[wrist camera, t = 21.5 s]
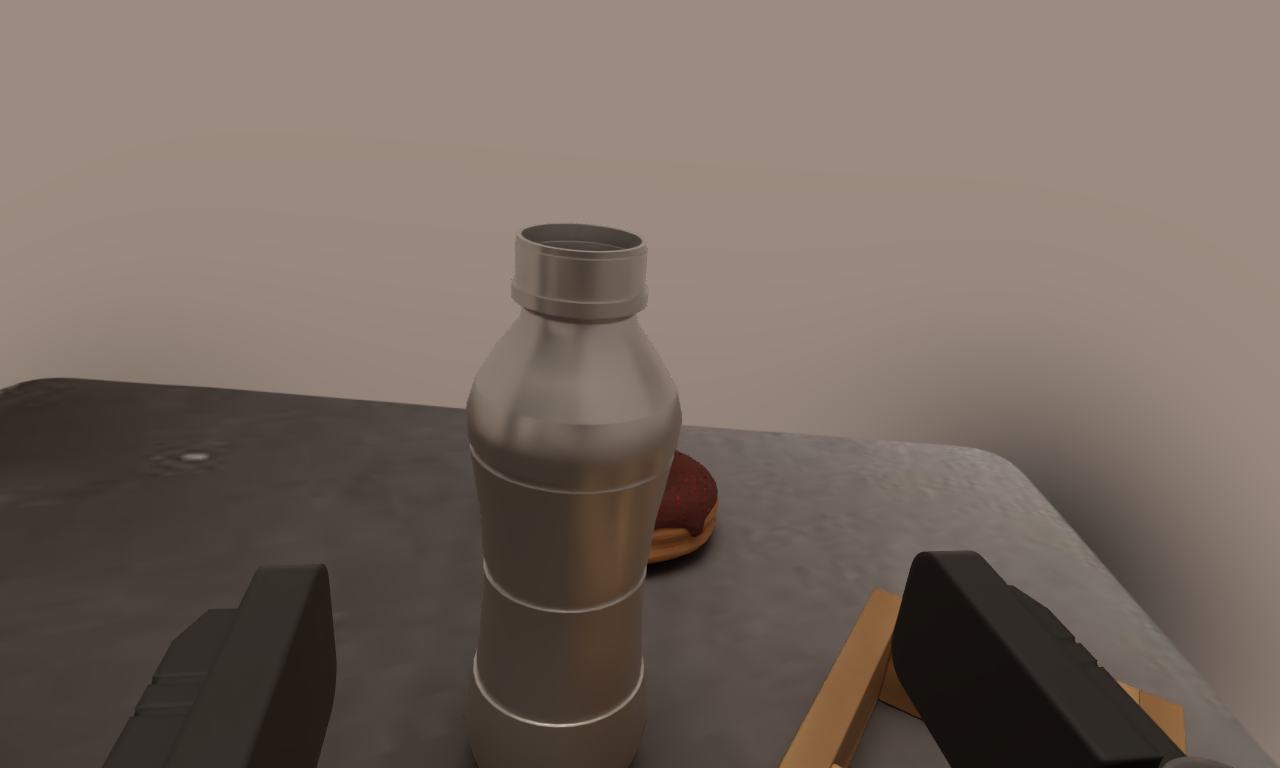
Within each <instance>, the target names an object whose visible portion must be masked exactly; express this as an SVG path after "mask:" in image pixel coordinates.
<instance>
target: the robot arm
mask: <svg viewBox="0 0 1280 768" xmlns="http://www.w3.org/2000/svg"><path fill="white" fill-rule="evenodd" d="M891 652H892V660H893V665H894V669H895V672H896V675H897V677H898V679H899V681H900V683H901V685H902V687H903V688H904V690H905V692H906V693H907V695H908V696H909V698H910V700H911V701H912V703H913V705H914V706H915V708H916V710H917V711H918V713H919V715H920V716H921V718H922V720H923V721H924V723H925V725H926V726H927V728H928V730H929V731H930V733H931V735H932V736H933V738H934V739H935V741H936V743H937V744H938V746H939V748H940V749H941V751H942V753H943V754H944V756H945V758H946V759H947V761H948V763H949V764H950V766H951V768H1233V767H1231V766H1228V765H1226V764H1223V763H1220V762H1217V761H1213V760H1209V759H1205V758H1198V757H1187V756H1186V755H1185V753H1184V752H1183V751H1182V750H1181V749H1180V748H1179V747H1178V746H1177V745H1176V744H1175V743H1174V742H1173V741H1172V740H1171V739H1170V738H1169V737H1168V735H1167V734H1166V733H1165V732H1164V731H1163V730H1162V729H1161V728H1160V727H1159V726H1158V725H1157V724H1156V723H1155V722H1154V721H1153V720H1152V718H1151V717H1150V716H1149V715H1148V714H1147V713H1146V712H1145V711H1144V710H1143V709H1142V708H1141V707H1140V706H1139V705H1138V704H1137V703H1136V701H1135V700H1134V699H1133V698H1132V697H1131V696H1130V695H1129V694H1128V693H1127V692H1126V691H1125V690H1124V689H1123V688H1122V687H1121V686H1120V685H1119V683H1118V682H1117V681H1116V680H1115V679H1114V678H1113V677H1112V676H1111V675H1110V674H1109V673H1108V672H1107V671H1106V670H1105V669H1104V668H1103V667H1098V665H1097V660H1096V659H1095V658H1094V657H1093V656H1092V655H1091V654H1090V653H1089V652H1088V651H1087V649H1086V648H1085V647H1084V646H1083V645H1082V644H1081V643H1076V642H1075V637H1074V636H1073V635H1072V634H1071V633H1070V631H1069V630H1068V629H1067V628H1066V627H1065V626H1064V625H1063V624H1062V623H1061V622H1060V621H1059V620H1058V619H1057V618H1056V617H1055V616H1054V614H1053V613H1052V612H1051V611H1050V610H1049V609H1048V608H1046V607H1045V606H1043V605H1042V604H1040V603H1038V602H1037V601H1035V600H1034V599H1032V598H1031V597H1029V596H1028V595H1026V594H1025V593H1023V592H1022V591H1020V590H1019V589H1017V588H1016V587H1014V586H1013V585H1007V584H1006V582H1005V581H1004V580H1003V579H1002V578H1001V577H1000V576H999V575H998V574H997V573H996V571H995V570H994V569H993V568H992V567H991V566H990V565H989V564H988V563H987V562H986V560H985V559H984V558H983V557H982V556H981V555H980V554H978V553H976V552H974V551H930V552H921V553H919V554H917V555H916V557H915V558H914V560H913V562H912V565H911V568H910V572H909V575H908V579H907V583H906V586H905V590H904V594H903V597H902V601H901V605H900V609H899V612H898V616H897V620H896V623H895V627H894V631H893V635H892V642H891ZM335 686H336V650H335V639H334V628H333V618H332V607H331V596H330V586H329V576H328V571H327V568H326V566H325V565H324V564H311V565H269V566H260V567H259V568H258V569H257V570H256V572H255V574H254V576H253V578H252V580H251V582H250V584H249V586H248V589H247V591H246V593H245V595H244V597H243V599H242V601H241V603H240V605H239V607H238V609H212V610H208V611H207V612H206V613H204V614H203V615H202V616H201V617H200V618H199V619H198V620H196V621H195V622H194V623H193V624H192V625H191V626H189V627H188V628H187V629H186V630H185V631H184V632H183V633H181V634H180V635H179V636H178V637H177V638H176V639H175V640H173V642H172V643H171V645H170V647H169V649H168V650H167V652H166V654H165V656H164V658H163V659H162V661H161V663H160V665H159V667H158V668H157V670H156V672H155V674H154V675H153V677H152V684H151V685H148V686H147V688H146V690H145V692H144V693H143V695H142V697H141V699H140V700H139V702H138V704H137V706H136V708H135V714H134V717H130V718H129V720H128V722H127V724H126V725H125V727H124V729H123V731H122V733H121V734H120V736H119V738H118V740H117V741H116V743H115V745H114V747H113V749H112V750H111V752H110V754H109V756H108V758H107V759H106V761H105V763H104V765H103V766H102V768H317V764H318V760H319V756H320V753H321V749H322V745H323V741H324V737H325V734H326V730H327V726H328V722H329V719H330V715H331V711H332V706H333V701H334V695H335Z"/></svg>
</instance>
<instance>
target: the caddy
mask: <svg viewBox="0 0 1280 768" xmlns="http://www.w3.org/2000/svg"><path fill="white" fill-rule="evenodd" d="M901 601H902V597H899V596H897V595H894V594H891V593H889V592H886V591H884V590H881V589H879V588H875V589H874V591H873V593H872V595H871V596H870V598H869V600H868V602H867V604H866V606H865V608H864V609H863V611H862V613H861V615H860V617H859V619H858V621H857V622H856V624H855V626H854V628H853V630H852V632H851V634H850V635H849V637H848V639H847V641H846V643H845V645H844V647H843V648H842V650H841V652H840V654H839V656H838V658H837V660H836V661H835V663H834V665H833V667H832V669H831V671H830V673H829V674H828V676H827V678H826V680H825V682H824V684H823V686H822V687H821V689H820V691H819V693H818V695H817V697H816V699H815V700H814V702H813V704H812V706H811V708H810V710H809V712H808V713H807V715H806V717H805V719H804V721H803V723H802V725H801V726H800V728H799V730H798V732H797V734H796V736H795V738H794V740H793V741H792V743H791V745H790V747H789V749H788V751H787V753H786V754H785V756H784V758H783V760H782V762H781V764H780V766H779V767H778V768H848V767H849V765H850V762H851V760H852V758H853V755H854V753H855V751H856V749H857V746H858V744H859V742H860V739H861V737H862V735H863V732H864V730H865V728H866V726H867V723H868V721H869V719H870V716H871V714H872V712H873V709H874V707H875V705H876V702H877V700H878V698H879V700H881V701H883V702H885V703H887V704H890V705H892V706H894V707H896V708H898V709H901V710H903V711H905V712H907V713H909V714H912V715H914V716H916V717H918V718H920V719H922V718H921V716H920V715H919V713H918V711H917V710H916V708H915V706H914V705H913V703H912V701H911V700H910V698H909V696H908V695H907V693H906V692H905V690H904V688H903V687H902V685H901V683H900V681H899V679H898V677H897V675H896V672H895V669H894V665H893V660H892V652H891V642H892V635H893V631H894V627H895V623H896V620H897V616H898V612H899V609H900V605H901ZM1117 682H1118V681H1117ZM1118 683H1119V685H1120V686H1121V687H1122V688H1123V689H1124V690H1125V691H1126V692H1127V693H1128V694H1129V695H1130V696H1131V697H1132V698H1133V699H1134V700H1135V701H1136V703H1137V704H1138V705H1139V706H1140V707H1141V708H1142V709H1143V710H1144V711H1145V712H1146V713H1147V714H1148V715H1149V716H1150V717H1151V718H1152V720H1153V721H1154V722H1155V723H1156V724H1157V725H1158V726H1159V727H1160V728H1161V729H1162V730H1163V731H1164V732H1165V733H1166V734H1167V735H1168V737H1169V738H1170V739H1171V740H1172V741H1173V742H1174V743H1175V744H1176V745H1177V746H1178V747H1179V748H1180V749H1181V750H1182V751H1183V752H1184V753H1185V755H1186V743H1185V729H1184V715H1183V707H1182V706H1180V705H1177V704H1175V703H1172V702H1170V701H1167V700H1165V699H1162V698H1160V697H1157V696H1154V695H1152V694H1149V693H1147V692H1144V691H1142V690H1140V691H1139V690H1138V689H1136V688H1134V687H1131V686H1129V685H1126V684H1124V683H1121V682H1118Z"/></svg>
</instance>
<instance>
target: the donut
mask: <svg viewBox="0 0 1280 768" xmlns="http://www.w3.org/2000/svg"><path fill="white" fill-rule="evenodd" d="M717 492H718V490H717V486H716V482H715V481H714V478H712V476H711V474H710V473H709V472H708V470H707V469H706V468H705V467H703V465H700V463H699V462H696V461H695V460H693V459H692V458H691V457H689V455H688V456H687V455H685V454H683V453H680V452H678V451H677V450H675V453H674V458H673V462H672V465H671V469H670V472H669V476H668V479H667V483H666V486H665V490H664V493H663V497H662V500H661V504H660V507H659V511H658V514H657V518H656V521H655V526H654V531H653V537H652V543H651V549H650V555H649V560H648V562H647V564H651V563H656V562H661V561H666V560H671V559H674V558H677V557H680V556H682V555H685V554H688V553H691V552H693V551H694V550H696V549H698V548H699V547H700V546H701V545H703V544H704V543H705V542H706V541H707V540H708V538H709V536H710V535H711V533H712V531H713V528H714V526H715V522H716V514H715V513H716V512H717V507H718V496H717Z"/></svg>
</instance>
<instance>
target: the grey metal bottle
mask: <svg viewBox="0 0 1280 768" xmlns="http://www.w3.org/2000/svg"><path fill="white" fill-rule="evenodd" d="M516 235H517V238H516V239H515V275H514V276H513V278H512V279H511V280H512V281H511V282H512V283H511V285H512V286H511V287H512V288H511V292H512V298H513V300H514V301H515V302H517V303H518V304H519V305H521V306H522V308H521V314H520V316H519V317H518V319H517V320H516V321H515V322H514V323H513V324H512V326H511V327H510V328H509V329H508V330H507V332H506V333H505V334H504V335H503V336H502V338H501V339H500V340H499V341H498V343H497V344H496V345H495V347H494V348H493V350H492V351H491V353H490V354H489V356H488V357H487V359H486V360H485V362H484V364H483V365H482V366H481V368H480V370H479V371H478V373H477V374H476V376H475V379H474V382H473V385H472V388H471V392H470V394H469V398H468V401H467V407H466V415H467V428H468V438H469V441H470V451H471V457H472V463H473V469H474V476H475V482H476V488H477V494H478V501H479V507H480V513H481V528H482V549H483V556H484V564H483V569H484V593H483V602H482V610H481V619H480V628H479V636H478V645H477V651H476V654H475V657H474V660H473V664H472V667H471V671H470V674H469V679H468V685H467V691H466V697H465V704H464V719H465V724H466V728H467V733H468V737H469V741H470V746H471V750H472V754H473V757H474V759H475V761H476V763H477V765H478V767H479V768H628V767H629V766H630V764H631V762H632V761H633V759H634V757H635V754H636V751H637V748H638V746H639V743H640V740H641V737H642V735H643V732H644V728H645V725H646V722H647V707H648V706H647V683H646V674H645V668H644V663H643V658H642V610H643V589H644V583H645V577H646V569H647V562H648V560H649V555H650V549H651V543H652V537H653V531H654V526H655V521H656V518H657V514H658V511H659V507H660V504H661V500H662V497H663V493H664V490H665V486H666V483H667V479H668V476H669V472H670V469H671V465H672V462H673V458H674V453H675V450H676V448H677V444H678V439H679V433H680V429H681V424H682V412H681V407H680V402H679V397H678V391H677V387H676V385H675V383H674V381H673V379H672V377H671V375H670V374H669V371H668V370H667V368H666V366H665V364H664V362H663V360H662V359H661V357H660V355H659V353H658V351H657V350H656V348H655V347H654V346H653V344H652V343H651V341H650V340H649V338H648V337H647V336H646V334H645V332H644V331H643V330H642V328H641V327H640V325H639V324H638V322H637V313H638V312H640V311H642V310H643V309H645V307H646V306H647V302H648V287H647V285H646V284H645V279H646V263H647V251H648V250H647V249H648V248H647V247H646V244H647V241H646V239H645V238H643V237H642V236H640V235H638V234H636V233H633V232H630V231H626V230H622V229H618V228H613V227H607V226H599V225H591V224H578V223H547V224H537V225H530V226H526V227H523V228H521V229H519V230H518V231H517V232H516Z"/></svg>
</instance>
